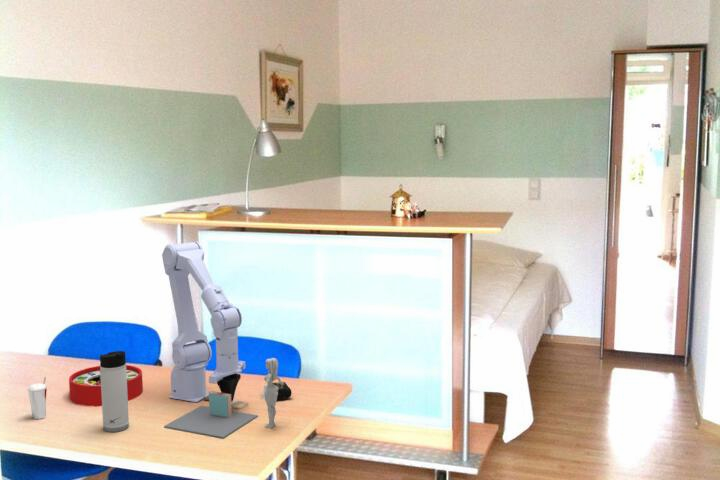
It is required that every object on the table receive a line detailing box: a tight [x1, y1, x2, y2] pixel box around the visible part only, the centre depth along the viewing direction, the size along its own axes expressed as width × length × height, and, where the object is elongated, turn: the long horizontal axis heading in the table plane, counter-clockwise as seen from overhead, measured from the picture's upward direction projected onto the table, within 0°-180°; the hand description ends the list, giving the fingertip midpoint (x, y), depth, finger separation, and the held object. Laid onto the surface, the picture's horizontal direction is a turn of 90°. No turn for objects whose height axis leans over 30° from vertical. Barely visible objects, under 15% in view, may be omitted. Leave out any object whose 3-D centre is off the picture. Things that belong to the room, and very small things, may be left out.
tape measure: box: [272, 381, 292, 401], centre depth 214 cm, size 7×7×4 cm
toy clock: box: [68, 364, 144, 407], centre depth 217 cm, size 20×6×20 cm
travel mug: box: [99, 350, 130, 433], centre depth 191 cm, size 6×7×20 cm
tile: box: [208, 390, 233, 418], centre depth 199 cm, size 6×2×6 cm, turn 66°
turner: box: [202, 396, 249, 410], centre depth 210 cm, size 13×4×1 cm, turn 66°
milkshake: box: [27, 376, 48, 420], centre depth 199 cm, size 4×5×10 cm
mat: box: [163, 405, 259, 440], centre depth 196 cm, size 18×16×1 cm
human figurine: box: [259, 357, 284, 429], centre depth 191 cm, size 12×4×18 cm, turn 160°
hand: (228, 401), depth 203 cm, fingers closed
